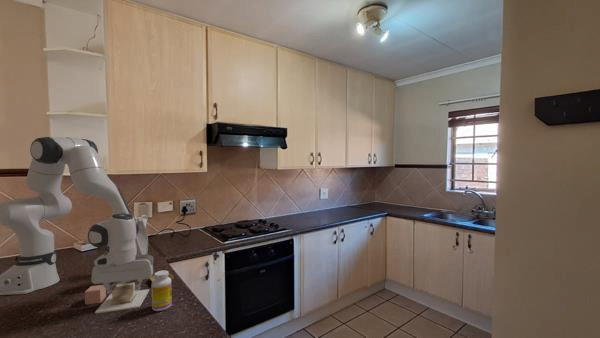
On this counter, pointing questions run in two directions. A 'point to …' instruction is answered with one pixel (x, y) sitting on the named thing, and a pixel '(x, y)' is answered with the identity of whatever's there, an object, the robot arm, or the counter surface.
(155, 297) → the supplement bottle
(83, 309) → the counter surface
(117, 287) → the birch block
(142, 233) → the skyscraper
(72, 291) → the counter surface
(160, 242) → the counter surface
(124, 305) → the white flat square slab
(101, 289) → the coral cube
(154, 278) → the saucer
